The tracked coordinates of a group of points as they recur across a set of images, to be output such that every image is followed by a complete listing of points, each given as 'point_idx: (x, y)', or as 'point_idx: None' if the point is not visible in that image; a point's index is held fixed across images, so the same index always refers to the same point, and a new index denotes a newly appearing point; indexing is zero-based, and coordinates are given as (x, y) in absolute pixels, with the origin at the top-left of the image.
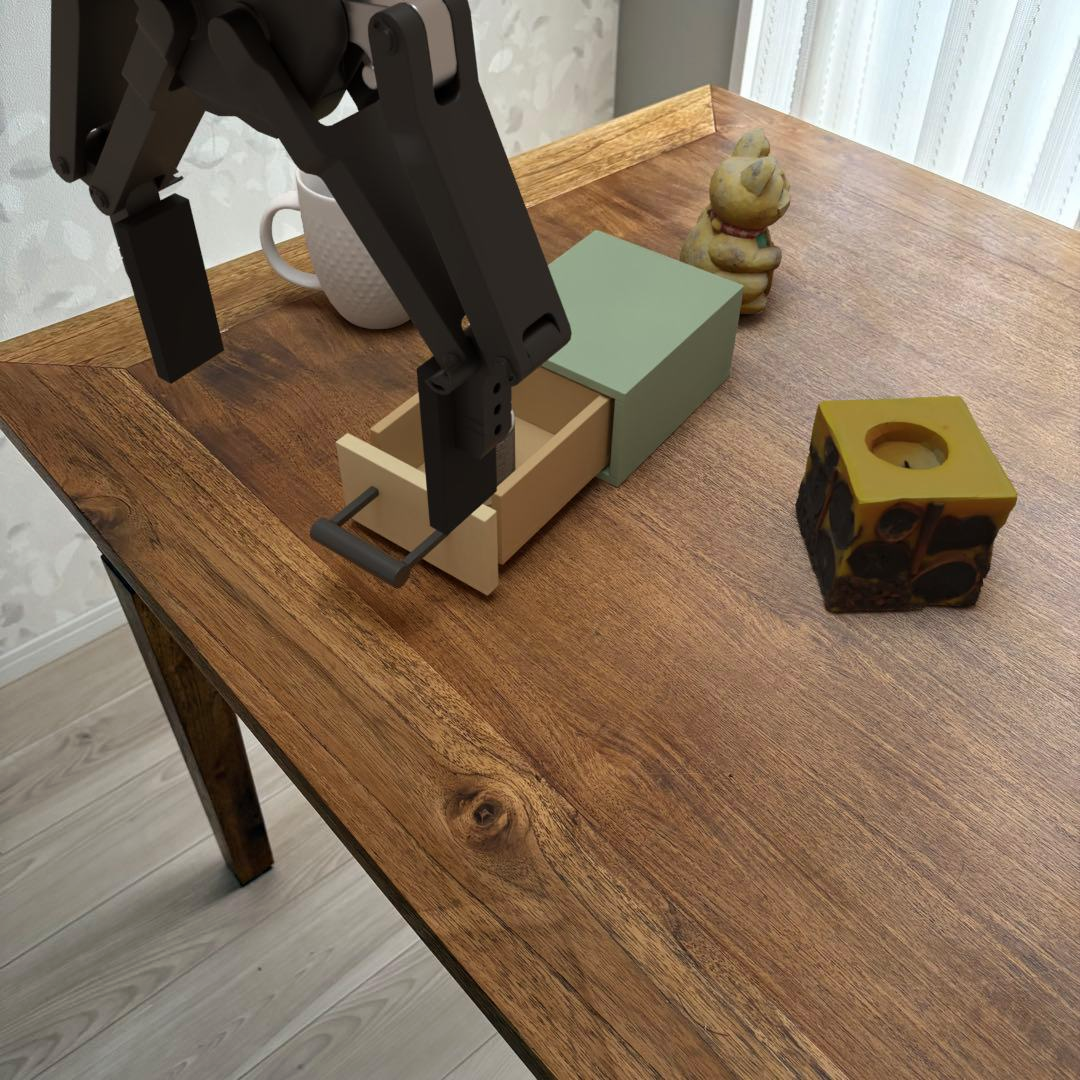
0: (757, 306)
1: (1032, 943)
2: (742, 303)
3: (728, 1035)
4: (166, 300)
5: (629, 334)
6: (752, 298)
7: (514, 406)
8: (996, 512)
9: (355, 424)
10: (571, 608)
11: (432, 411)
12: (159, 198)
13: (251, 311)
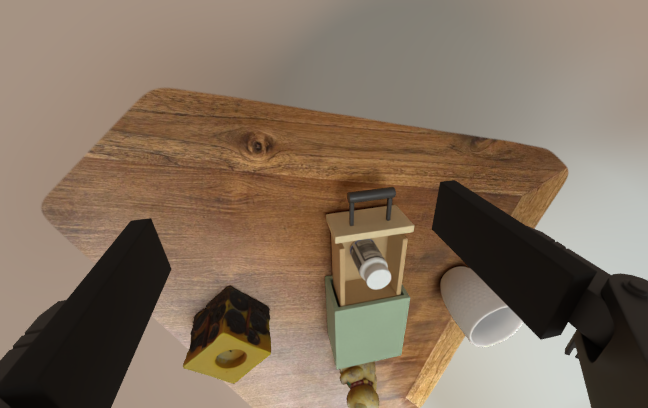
0: None
1: (80, 235)
2: None
3: (121, 139)
4: (485, 233)
5: (354, 331)
6: None
7: None
8: (189, 356)
9: (424, 235)
10: (299, 230)
11: (51, 329)
12: (571, 323)
13: None
